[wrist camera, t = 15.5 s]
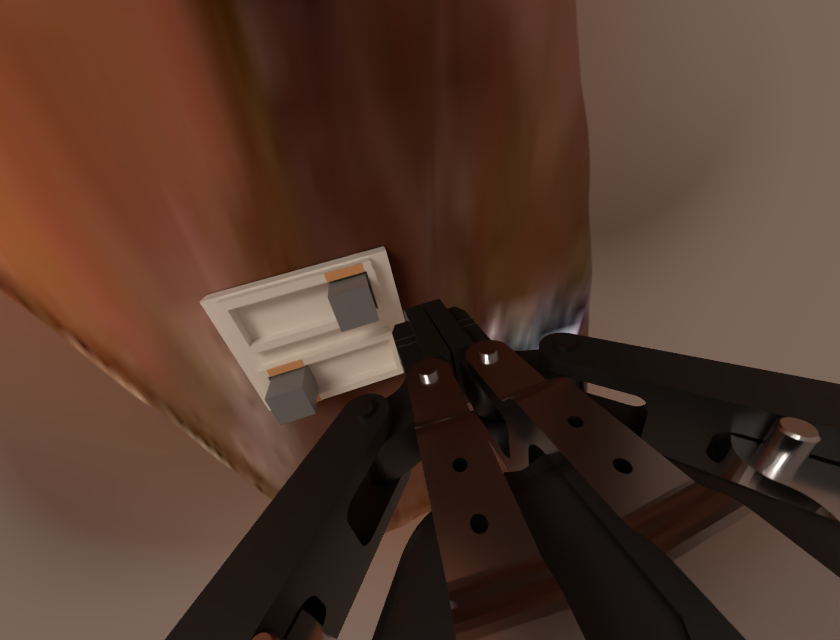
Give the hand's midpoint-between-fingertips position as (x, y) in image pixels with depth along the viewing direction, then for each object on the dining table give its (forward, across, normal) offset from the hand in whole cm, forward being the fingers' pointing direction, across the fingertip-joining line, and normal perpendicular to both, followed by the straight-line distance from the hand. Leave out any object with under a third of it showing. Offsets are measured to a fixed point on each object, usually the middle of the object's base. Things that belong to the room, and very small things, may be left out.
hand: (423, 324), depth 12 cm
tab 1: (+22, +14, +16) cm, 30 cm away
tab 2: (+22, +4, +6) cm, 23 cm away
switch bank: (+24, +9, +11) cm, 28 cm away
